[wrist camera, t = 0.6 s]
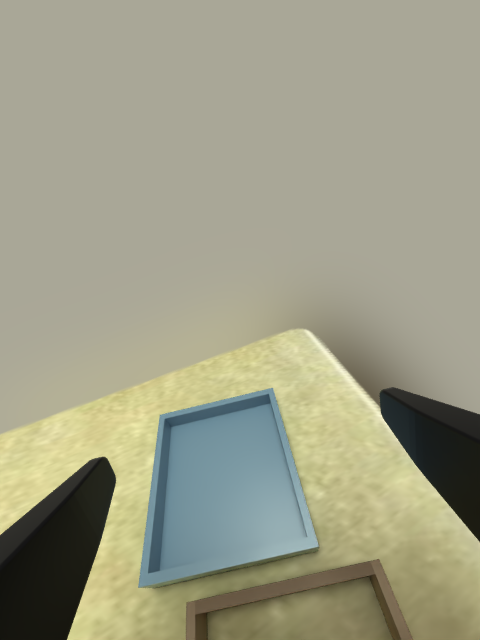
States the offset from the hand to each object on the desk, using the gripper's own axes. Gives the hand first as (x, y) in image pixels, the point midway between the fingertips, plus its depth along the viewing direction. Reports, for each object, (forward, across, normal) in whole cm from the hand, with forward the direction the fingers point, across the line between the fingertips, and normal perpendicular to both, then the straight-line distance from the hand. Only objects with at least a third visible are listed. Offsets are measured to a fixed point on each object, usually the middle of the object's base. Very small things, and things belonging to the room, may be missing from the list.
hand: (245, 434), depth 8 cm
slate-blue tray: (+9, +3, +12) cm, 15 cm away
